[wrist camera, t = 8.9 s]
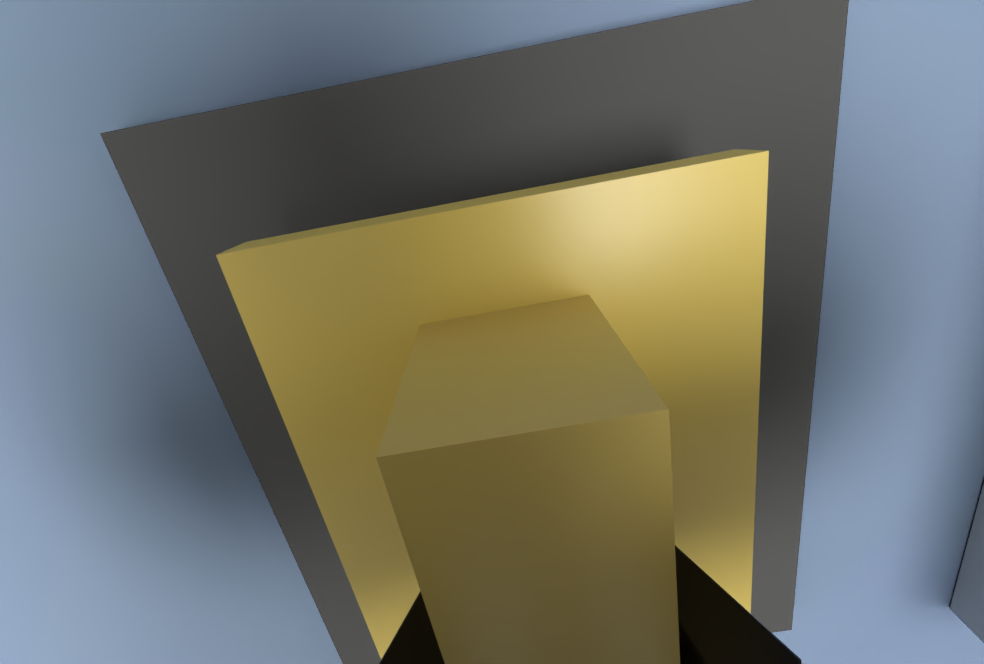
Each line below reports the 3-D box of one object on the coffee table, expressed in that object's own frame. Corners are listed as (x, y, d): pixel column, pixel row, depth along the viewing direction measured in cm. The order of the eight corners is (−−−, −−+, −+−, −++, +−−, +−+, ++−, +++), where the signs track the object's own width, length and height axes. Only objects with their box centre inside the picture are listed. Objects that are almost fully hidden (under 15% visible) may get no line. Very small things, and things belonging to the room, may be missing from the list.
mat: (359, 671, 16) (355, 690, 15) (122, 133, 10) (99, 133, 9) (780, 611, 15) (791, 629, 15) (827, -9, 9) (850, -19, 8)
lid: (416, 689, 13) (384, 954, 9) (246, 241, 8) (1, 348, 4) (727, 646, 12) (852, 901, 8) (734, 149, 8) (1027, 160, 4)
